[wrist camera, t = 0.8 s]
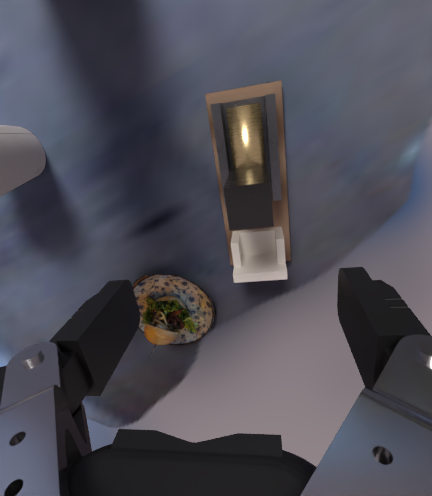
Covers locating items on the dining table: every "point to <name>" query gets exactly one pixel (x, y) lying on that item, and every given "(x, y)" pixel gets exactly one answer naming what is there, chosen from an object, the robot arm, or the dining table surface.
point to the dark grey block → (247, 171)
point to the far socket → (258, 255)
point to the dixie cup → (19, 157)
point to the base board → (281, 205)
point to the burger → (172, 309)
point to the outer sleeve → (268, 132)
